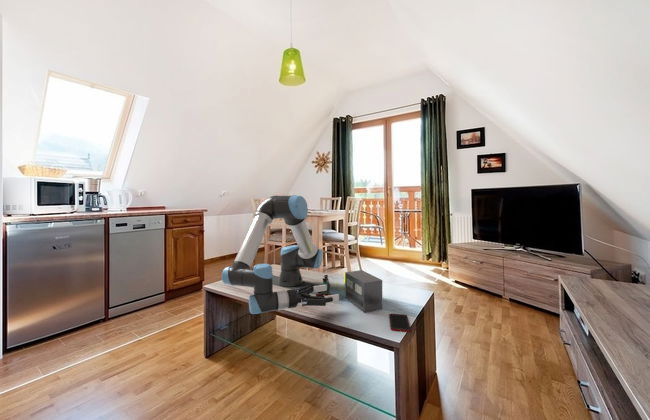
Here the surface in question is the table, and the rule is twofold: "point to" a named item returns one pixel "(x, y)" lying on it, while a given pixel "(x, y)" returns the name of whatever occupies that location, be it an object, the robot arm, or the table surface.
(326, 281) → the binoculars
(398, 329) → the cell phone
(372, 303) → the box
